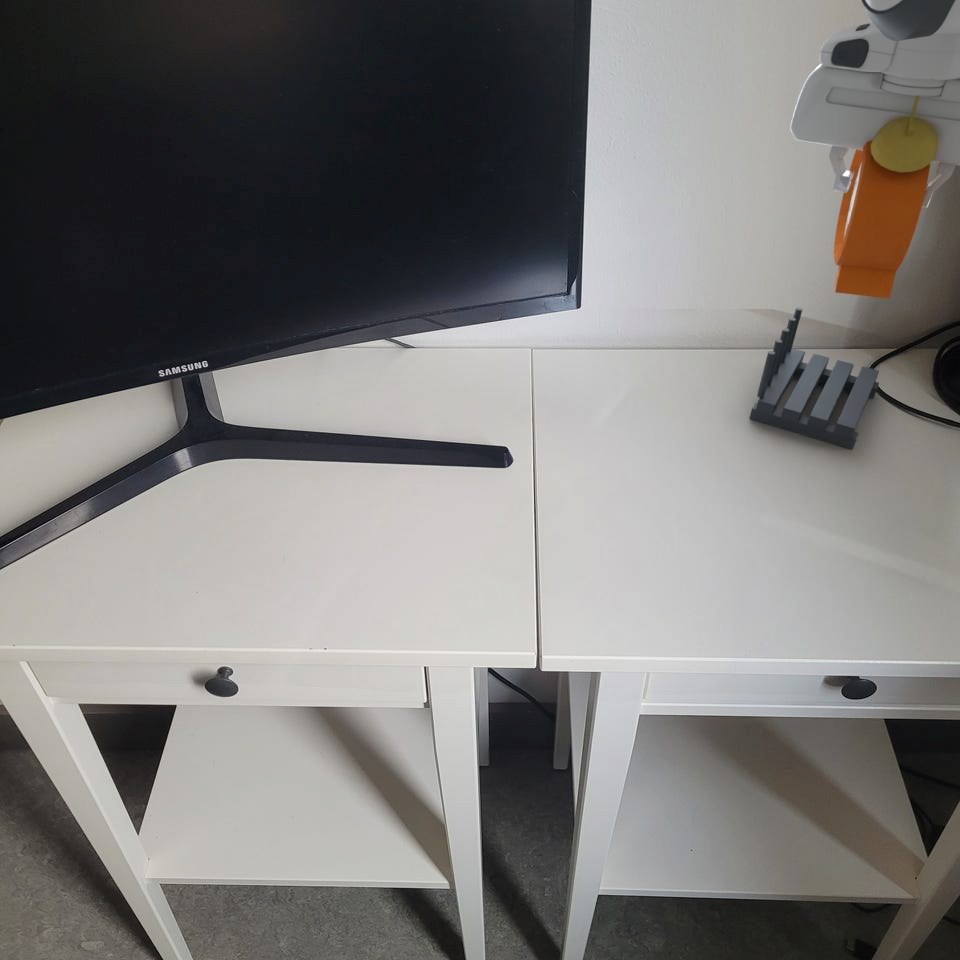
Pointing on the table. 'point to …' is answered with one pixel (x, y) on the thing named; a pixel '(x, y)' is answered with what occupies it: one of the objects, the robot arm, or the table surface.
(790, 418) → the rack
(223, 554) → the table surface
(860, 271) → the alarm clock
